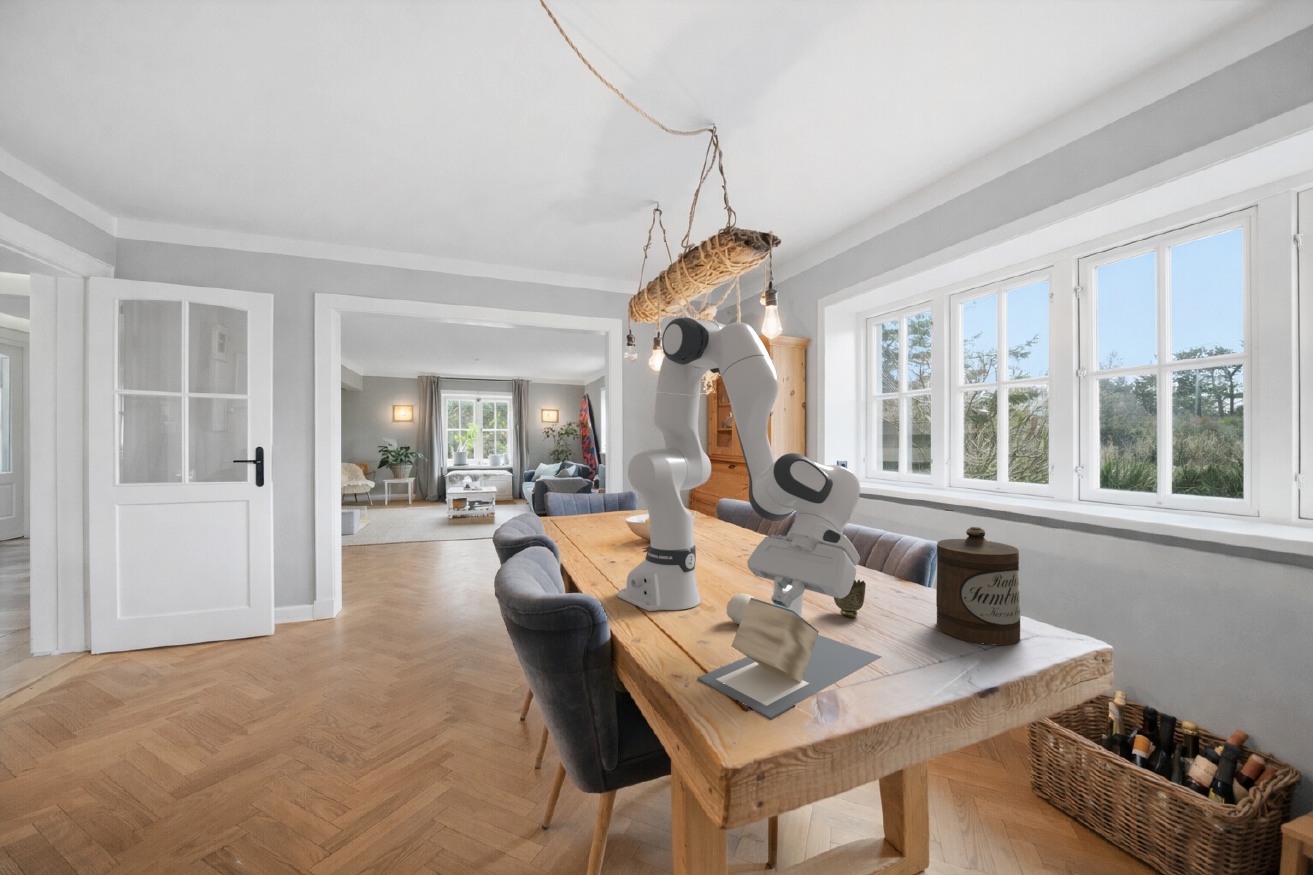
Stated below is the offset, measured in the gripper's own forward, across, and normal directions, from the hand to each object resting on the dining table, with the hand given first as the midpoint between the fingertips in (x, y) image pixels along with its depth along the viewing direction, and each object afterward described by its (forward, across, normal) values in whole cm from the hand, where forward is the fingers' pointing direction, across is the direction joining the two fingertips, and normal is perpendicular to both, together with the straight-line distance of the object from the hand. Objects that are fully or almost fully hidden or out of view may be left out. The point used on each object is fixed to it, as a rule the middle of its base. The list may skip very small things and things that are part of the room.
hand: (779, 604), depth 88 cm
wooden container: (-24, +14, +42) cm, 51 cm away
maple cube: (+1, 0, +2) cm, 2 cm away
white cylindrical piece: (-8, -16, +25) cm, 31 cm away
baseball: (0, -20, +18) cm, 27 cm away
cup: (-16, -8, +34) cm, 38 cm away
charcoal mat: (+6, 0, +11) cm, 13 cm away
